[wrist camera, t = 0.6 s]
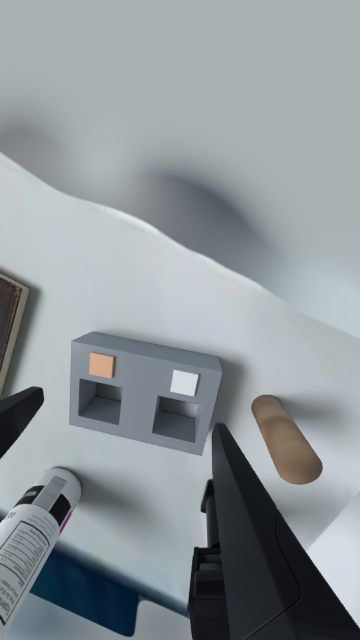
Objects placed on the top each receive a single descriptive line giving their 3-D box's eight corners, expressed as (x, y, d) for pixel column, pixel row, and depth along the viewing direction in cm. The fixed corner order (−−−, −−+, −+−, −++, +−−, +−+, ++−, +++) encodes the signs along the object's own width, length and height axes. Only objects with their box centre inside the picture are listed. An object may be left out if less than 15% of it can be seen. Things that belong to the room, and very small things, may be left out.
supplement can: (86, 503, 32) (-10, 691, 17) (45, 496, 32) (-80, 671, 18) (81, 468, 30) (-30, 645, 15) (38, 462, 31) (-107, 625, 16)
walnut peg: (276, 422, 24) (313, 488, 16) (248, 416, 24) (271, 478, 17) (285, 398, 23) (329, 456, 15) (255, 391, 24) (283, 445, 16)
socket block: (201, 429, 26) (201, 458, 21) (87, 403, 27) (67, 426, 23) (218, 357, 23) (223, 373, 19) (91, 331, 24) (69, 341, 20)
